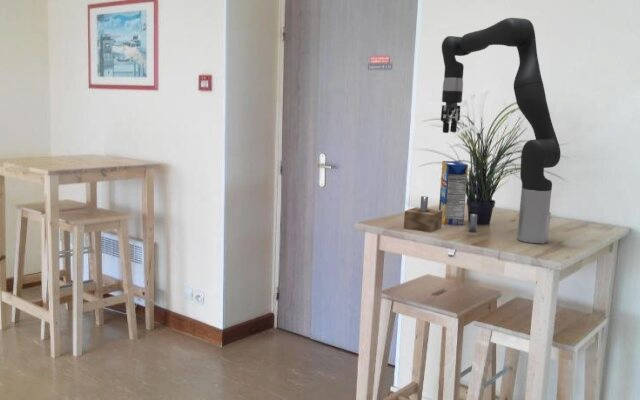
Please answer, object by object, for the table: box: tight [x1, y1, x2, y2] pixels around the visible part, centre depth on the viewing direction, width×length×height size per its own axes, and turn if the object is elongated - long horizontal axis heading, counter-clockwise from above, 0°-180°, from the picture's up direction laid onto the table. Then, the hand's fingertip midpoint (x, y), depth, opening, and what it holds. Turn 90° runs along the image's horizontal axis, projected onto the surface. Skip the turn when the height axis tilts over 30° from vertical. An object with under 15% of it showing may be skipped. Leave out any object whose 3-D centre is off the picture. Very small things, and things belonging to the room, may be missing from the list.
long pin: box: [419, 195, 429, 212], centre depth 217 cm, size 2×2×11 cm
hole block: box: [403, 206, 443, 233], centre depth 217 cm, size 10×10×6 cm
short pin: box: [468, 213, 478, 233], centre depth 214 cm, size 2×2×6 cm
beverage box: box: [438, 160, 469, 226], centre depth 228 cm, size 7×11×22 cm, turn 1°
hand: (449, 132), depth 240 cm, fingers open, 8 cm apart
